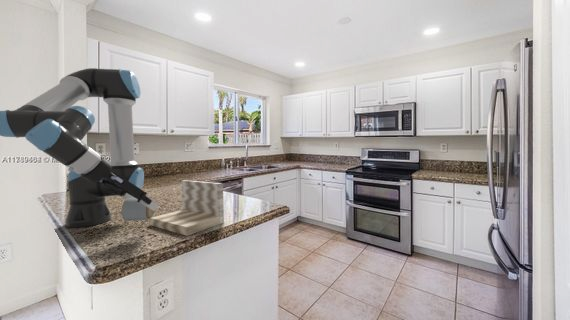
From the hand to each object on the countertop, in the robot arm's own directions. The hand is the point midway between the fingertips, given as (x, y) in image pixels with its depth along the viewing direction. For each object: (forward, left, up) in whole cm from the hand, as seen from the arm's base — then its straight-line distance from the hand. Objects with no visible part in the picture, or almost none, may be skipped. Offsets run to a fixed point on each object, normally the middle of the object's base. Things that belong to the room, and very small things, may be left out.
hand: (147, 205), depth 86 cm
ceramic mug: (-1, -2, -4) cm, 5 cm away
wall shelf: (+2, +13, -10) cm, 17 cm away
